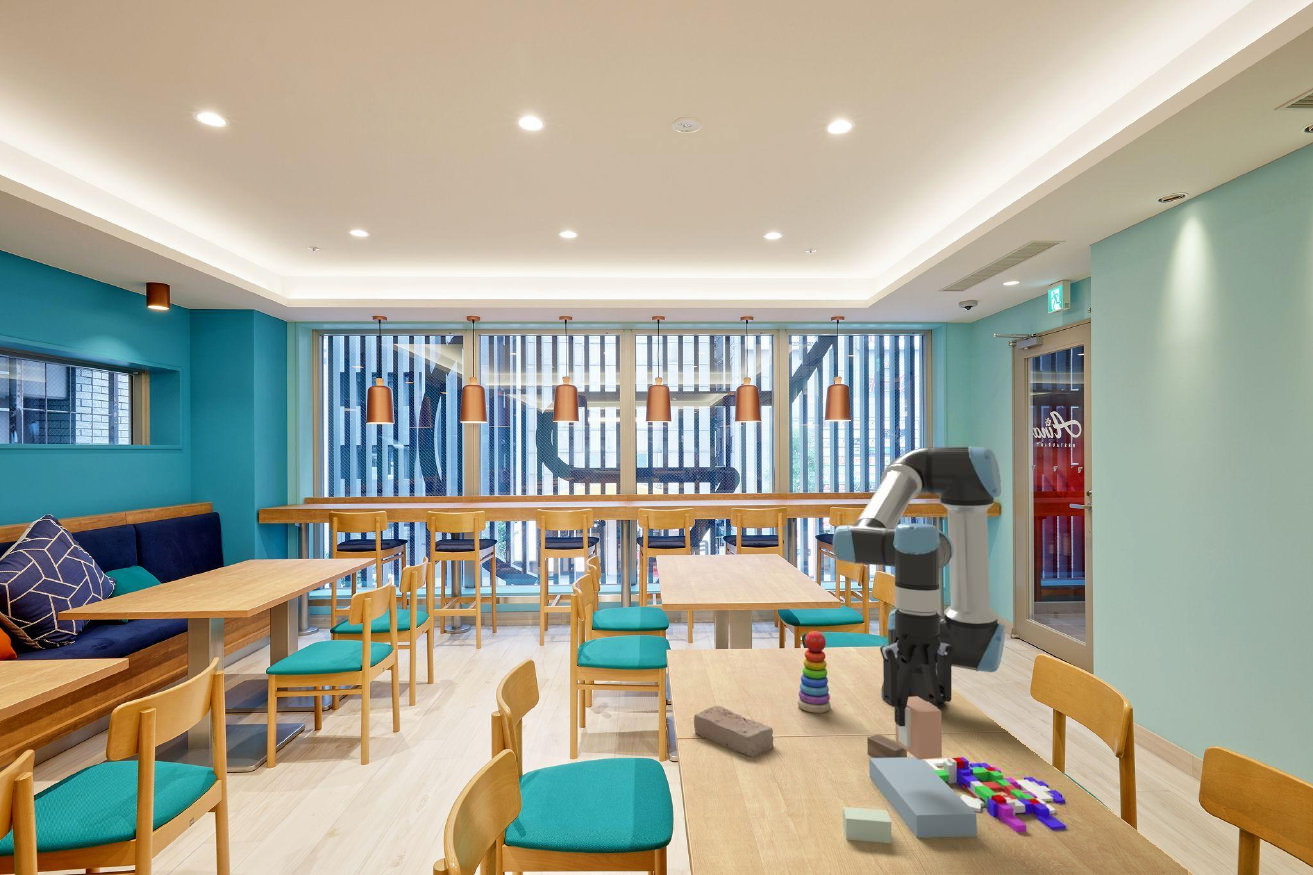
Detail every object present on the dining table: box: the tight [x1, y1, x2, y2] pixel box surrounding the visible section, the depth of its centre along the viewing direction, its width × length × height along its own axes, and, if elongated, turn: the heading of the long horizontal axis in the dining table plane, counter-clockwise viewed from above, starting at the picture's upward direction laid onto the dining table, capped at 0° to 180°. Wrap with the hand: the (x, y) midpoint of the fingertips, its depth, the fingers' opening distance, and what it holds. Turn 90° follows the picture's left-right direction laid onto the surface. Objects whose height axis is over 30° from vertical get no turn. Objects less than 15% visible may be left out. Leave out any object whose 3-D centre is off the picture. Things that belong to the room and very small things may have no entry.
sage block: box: [842, 806, 893, 844], centre depth 105 cm, size 4×7×4 cm, turn 82°
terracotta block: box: [895, 696, 943, 760], centre depth 115 cm, size 4×7×8 cm, turn 11°
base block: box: [868, 756, 978, 839], centre depth 114 cm, size 10×20×4 cm, turn 3°
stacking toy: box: [797, 630, 832, 714], centre depth 159 cm, size 8×8×19 cm
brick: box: [693, 705, 774, 758], centre depth 141 cm, size 17×8×5 cm, turn 44°
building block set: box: [923, 756, 1067, 834], centre depth 119 cm, size 25×20×4 cm
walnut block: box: [866, 733, 908, 758], centre depth 132 cm, size 4×7×4 cm, turn 30°
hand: (917, 742), depth 115 cm, fingers closed on terracotta block, 4 cm apart
